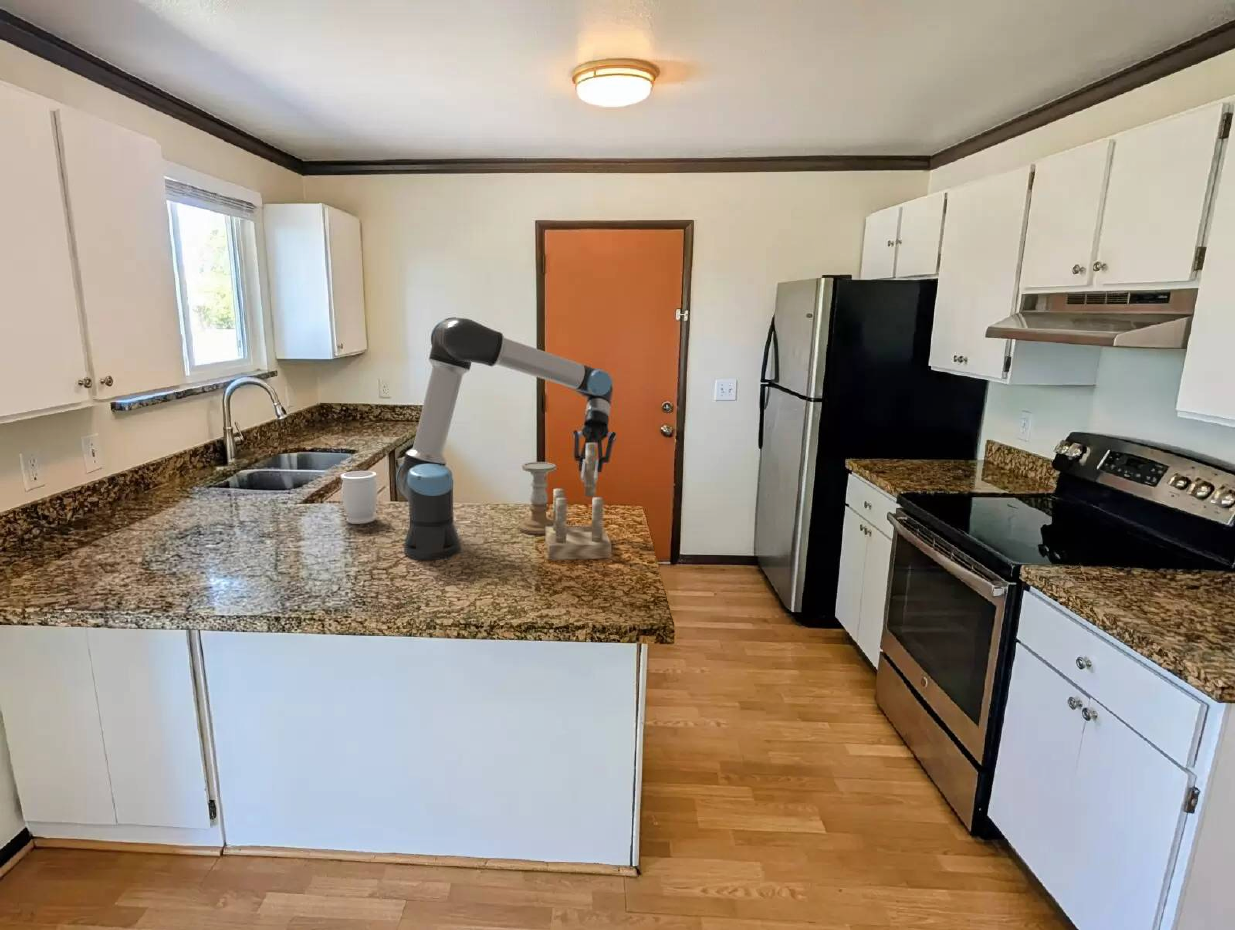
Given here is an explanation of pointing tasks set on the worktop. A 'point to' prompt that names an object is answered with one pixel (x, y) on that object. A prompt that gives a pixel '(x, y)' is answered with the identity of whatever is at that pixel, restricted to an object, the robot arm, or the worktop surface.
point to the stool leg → (590, 469)
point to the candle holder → (537, 498)
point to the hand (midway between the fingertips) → (588, 480)
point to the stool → (576, 533)
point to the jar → (359, 496)
